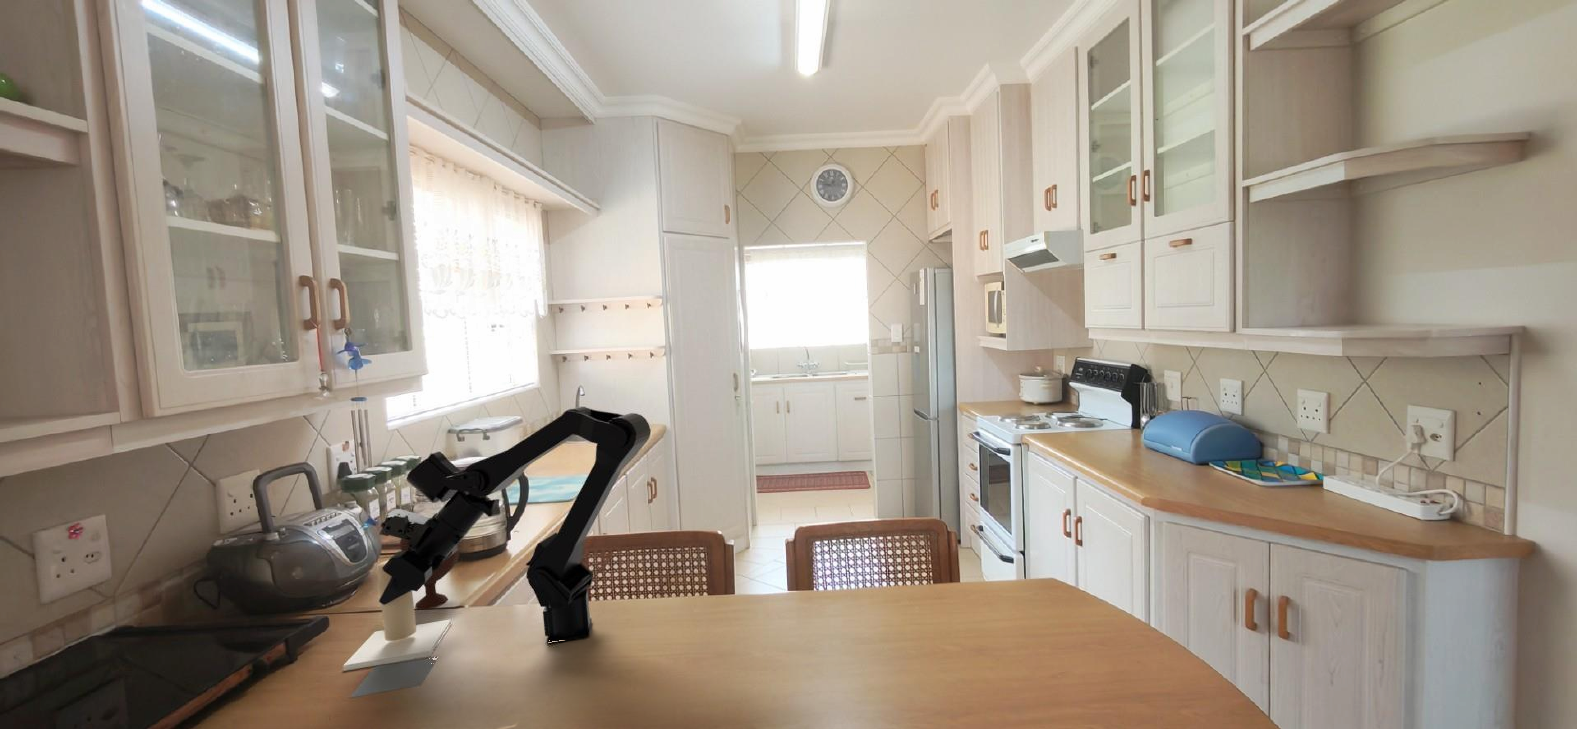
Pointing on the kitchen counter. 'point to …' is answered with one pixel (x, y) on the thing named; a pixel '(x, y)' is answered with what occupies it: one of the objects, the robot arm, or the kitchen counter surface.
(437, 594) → the ice cream bowl
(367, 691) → the mat
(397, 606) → the tan tapered rounded piece
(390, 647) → the cutting board
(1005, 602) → the kitchen counter surface
